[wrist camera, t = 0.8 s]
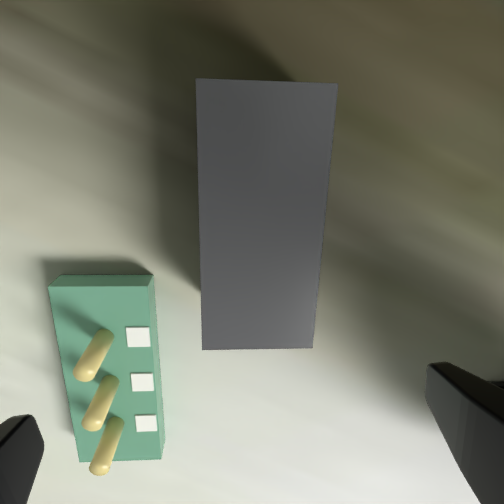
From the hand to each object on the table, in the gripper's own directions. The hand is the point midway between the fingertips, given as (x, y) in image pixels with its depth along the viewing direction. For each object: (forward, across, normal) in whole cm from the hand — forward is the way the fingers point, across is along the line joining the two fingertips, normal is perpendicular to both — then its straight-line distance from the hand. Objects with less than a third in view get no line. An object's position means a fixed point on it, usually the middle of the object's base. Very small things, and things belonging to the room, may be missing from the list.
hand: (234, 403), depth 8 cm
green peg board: (+12, +8, +7) cm, 16 cm away
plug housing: (+12, -1, -2) cm, 12 cm away
